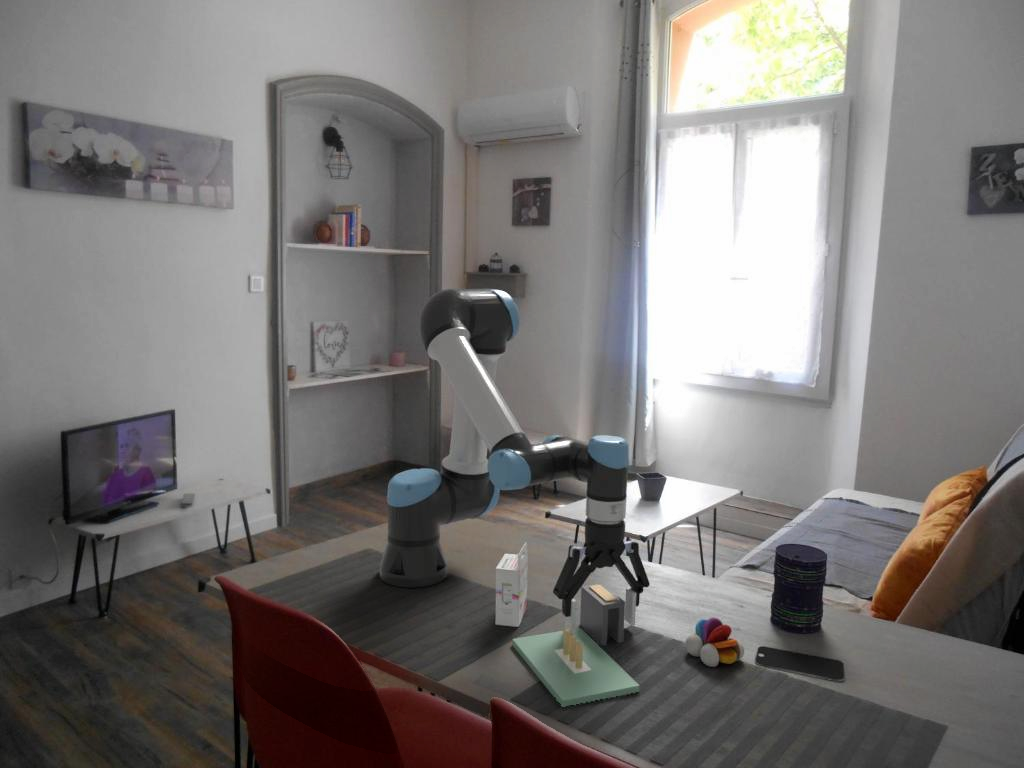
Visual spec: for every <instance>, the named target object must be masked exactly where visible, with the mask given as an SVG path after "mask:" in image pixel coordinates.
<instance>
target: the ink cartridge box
mask: <svg viewBox="0 0 1024 768" xmlns="http://www.w3.org/2000/svg"><path fill="white" fill-rule="evenodd" d="M527 543H528V542H527V541H525V543H524V544H523V546H522V547H521V549H520V551H519V552H518V554H514V553H504V555H503V556H502V557H501V559H500V561H499V562H498V564H497V566H496V567H495V622H494V623H495V625H496V626H505V627H515V628H516V627H517V628H518V627H519V626H520V625H521V622H522V621H523V617H524V616H525V615H524V614H525V612H526V610H527V595H528V594H527V593H528V561H529V560H528V559H529V558H528V544H527Z"/></svg>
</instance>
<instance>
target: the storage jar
mask: <svg viewBox="0 0 1024 768" xmlns="http://www.w3.org/2000/svg"><path fill="white" fill-rule="evenodd" d="M774 551H775V552H774V553H775V554H774V560H773V570H772V571H773V578H774V581H773V582H774V583H773V592H772V594H771V601H770V616H769V617H770V618H769V619H770V620H769V621H770V623H771V625H773V626H774V627H775V628H776V629H779V630H780V631H783V632H786V633H790V634H793V635H794V634H795V635H802V636H810V635H815V634H818V633H820V631H821V630H822V622H823V617H824V600H823V598H824V597H823V595H824V586H825V584H826V581H827V577H826V576H827V572H828V571H827V570H828V569H827V568H828V567H827V564H828V563H827V561H828V554H827V553H826V552H825V551H824V550H822V549H820V548H817V547H814V546H811V545H808V544H802V543H801V544H800V543H799V544H798V543H785V544H784V543H783V544H779V545H778V546H776V547H775V550H774Z"/></svg>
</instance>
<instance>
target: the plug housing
mask: <svg viewBox="0 0 1024 768" xmlns="http://www.w3.org/2000/svg"><path fill="white" fill-rule="evenodd" d="M580 591H581V592H580V611H579V612H580V615H579V619H580V620H579V626H581V627H582V628H583V629H584V631H586V632H587V633H588V634H589V636H590V637H592V638H593V640H594V641H596V642H597V643H598V645H599V646H602V647H603V646H608V643H607V642H608V636H610V637H611V638H613V640H614V641H615V642H616V643H618V644H619V643H624V632H625V620H624V618H625V600H624V599H622V598H621V597H620V596H619V595H617V593H615V592H614V591H612V590H611V589H610V588H609V587H608V586H606V585H605V583H596V584H595V583H594V584H589V585H582V586H581V588H580Z"/></svg>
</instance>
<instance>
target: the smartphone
mask: <svg viewBox="0 0 1024 768" xmlns="http://www.w3.org/2000/svg"><path fill="white" fill-rule="evenodd" d="M756 649H757V650H756V654H755V656H754V657H755V658H754V664H755V663H756V664H755V665H757V666H758V665H759V667H762V666H764V667H763V668H767V667H768V669H771V668H772V669H773V670H776V669H777V670H778V671H781V670H782V672H786V671H787V673H791V672H792V674H796V673H797V674H796V675H801V674H804V675H803V676H806V675H808V676H807V677H811V676H815V677H820V678H824V679H823V680H825V679H831V680H835V681H844V680H845V679H846V678H845V677H846V676H845V673H846V669H845V667H846V666H845V664H844V662H842V661H841V660H839V659H838V660H837V659H833V658H828V657H824V656H817V655H813V654H807V653H802V652H798V651H797V652H796V651H792V650H791V651H790V650H784V649H781V648H775V647H769V646H763V645H762V646H759V647H758V648H756ZM815 677H814V678H815ZM820 678H819V679H820ZM835 681H834V682H835ZM844 682H845V681H844Z"/></svg>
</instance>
